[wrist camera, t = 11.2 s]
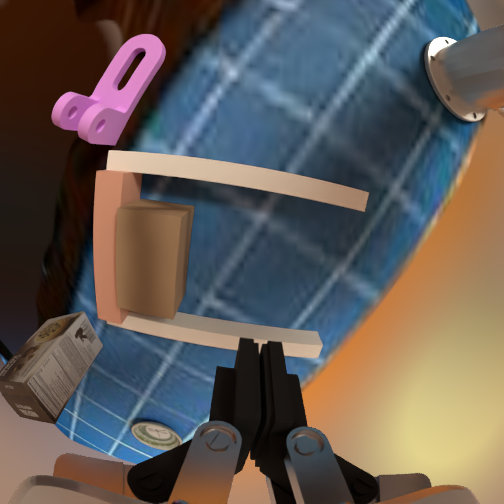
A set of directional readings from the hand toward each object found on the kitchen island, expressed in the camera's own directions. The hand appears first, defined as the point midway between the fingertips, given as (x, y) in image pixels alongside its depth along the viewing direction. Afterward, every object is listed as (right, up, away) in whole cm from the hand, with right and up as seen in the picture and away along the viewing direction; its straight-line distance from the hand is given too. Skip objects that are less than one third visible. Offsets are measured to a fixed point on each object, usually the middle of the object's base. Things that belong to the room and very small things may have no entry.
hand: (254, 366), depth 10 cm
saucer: (-17, -28, +30) cm, 45 cm away
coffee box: (-27, -7, +23) cm, 36 cm away
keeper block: (-10, +5, +18) cm, 22 cm away
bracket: (-14, +23, +13) cm, 30 cm away
